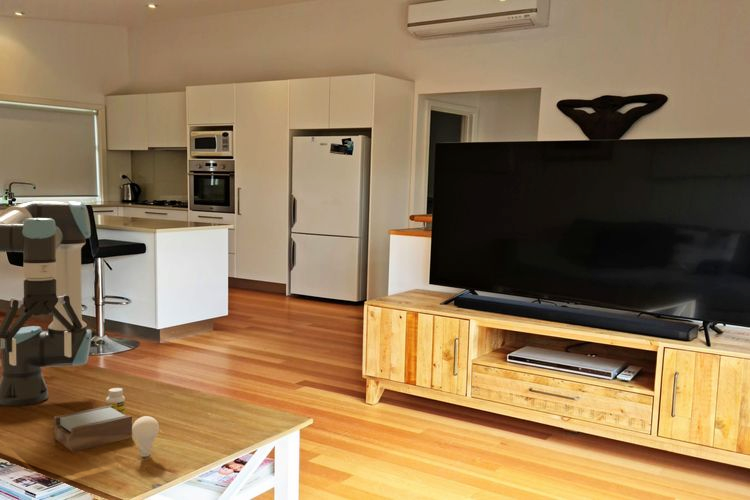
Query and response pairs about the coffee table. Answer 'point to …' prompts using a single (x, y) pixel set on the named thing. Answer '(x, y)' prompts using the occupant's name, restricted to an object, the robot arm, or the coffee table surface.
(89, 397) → the coffee table surface
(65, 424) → the cover plate
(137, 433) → the light bulb
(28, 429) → the coffee table surface
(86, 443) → the walnut box
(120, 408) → the supplement bottle
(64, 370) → the coffee table surface
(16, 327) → the robot arm
